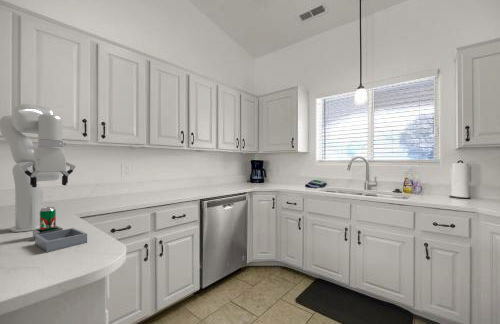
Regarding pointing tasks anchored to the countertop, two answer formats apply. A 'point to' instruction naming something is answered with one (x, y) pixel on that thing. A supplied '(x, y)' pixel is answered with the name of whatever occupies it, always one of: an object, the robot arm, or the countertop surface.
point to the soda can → (47, 219)
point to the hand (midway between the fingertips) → (49, 186)
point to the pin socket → (37, 231)
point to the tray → (60, 239)
